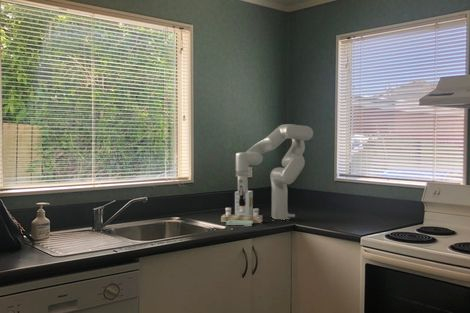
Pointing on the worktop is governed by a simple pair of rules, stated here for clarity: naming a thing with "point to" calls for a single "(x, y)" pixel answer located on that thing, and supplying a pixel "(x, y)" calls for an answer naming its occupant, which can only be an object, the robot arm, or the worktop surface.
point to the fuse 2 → (255, 212)
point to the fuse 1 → (228, 211)
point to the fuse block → (242, 218)
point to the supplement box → (247, 207)
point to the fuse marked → (242, 209)
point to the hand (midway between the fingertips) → (242, 205)
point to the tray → (239, 222)
